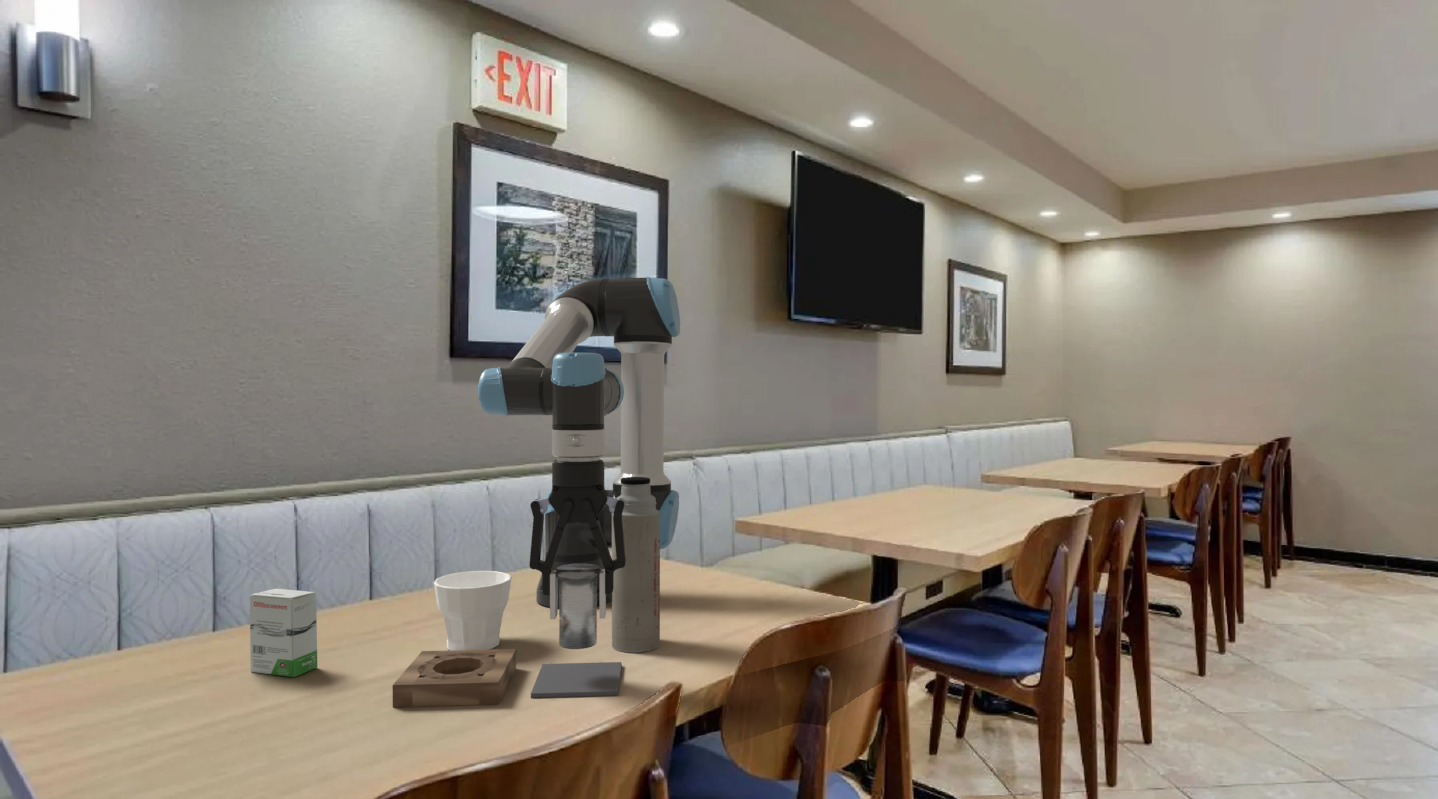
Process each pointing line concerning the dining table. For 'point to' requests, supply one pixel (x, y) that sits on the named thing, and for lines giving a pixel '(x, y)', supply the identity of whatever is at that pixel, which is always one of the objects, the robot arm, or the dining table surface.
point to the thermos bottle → (637, 571)
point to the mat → (577, 680)
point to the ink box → (283, 632)
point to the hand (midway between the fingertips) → (578, 616)
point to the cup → (473, 607)
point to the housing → (455, 678)
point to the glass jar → (577, 605)
